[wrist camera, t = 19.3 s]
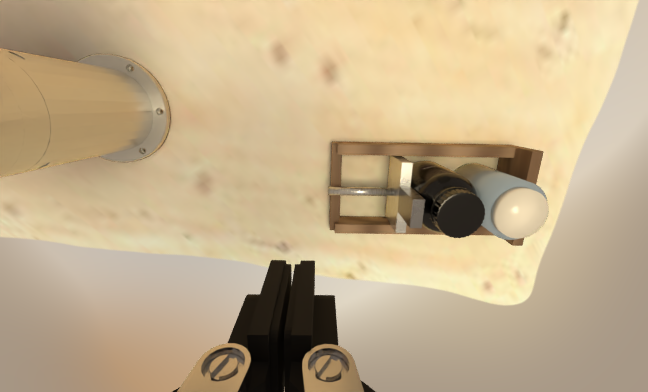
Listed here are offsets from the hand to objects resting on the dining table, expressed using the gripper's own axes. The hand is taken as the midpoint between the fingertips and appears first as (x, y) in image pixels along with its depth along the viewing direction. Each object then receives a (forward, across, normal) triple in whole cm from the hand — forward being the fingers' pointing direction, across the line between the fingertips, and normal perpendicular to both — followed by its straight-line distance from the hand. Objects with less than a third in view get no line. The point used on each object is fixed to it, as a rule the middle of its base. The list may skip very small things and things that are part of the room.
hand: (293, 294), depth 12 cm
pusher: (+29, -7, +3) cm, 30 cm away
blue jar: (+29, -21, +3) cm, 36 cm away
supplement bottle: (+29, -14, +3) cm, 33 cm away
